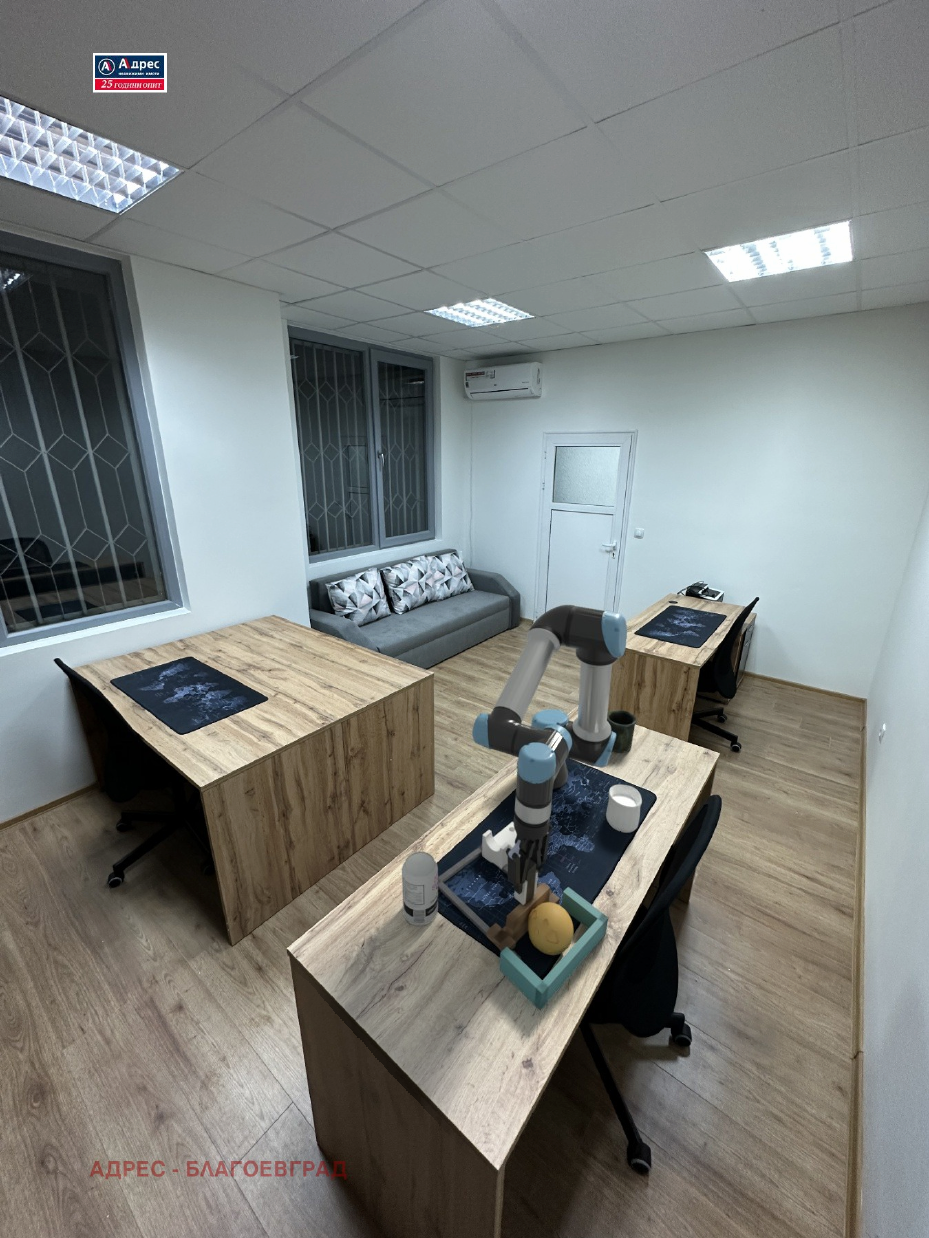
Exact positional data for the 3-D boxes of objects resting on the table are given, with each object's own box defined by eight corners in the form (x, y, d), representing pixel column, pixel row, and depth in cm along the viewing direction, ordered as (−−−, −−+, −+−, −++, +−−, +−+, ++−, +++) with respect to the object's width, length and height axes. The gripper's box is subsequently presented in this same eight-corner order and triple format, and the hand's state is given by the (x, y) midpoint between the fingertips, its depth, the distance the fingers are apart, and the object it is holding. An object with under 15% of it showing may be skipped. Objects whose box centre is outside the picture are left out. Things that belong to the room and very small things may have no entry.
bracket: (501, 871, 128) (503, 849, 126) (481, 856, 133) (482, 834, 130) (531, 844, 137) (533, 823, 135) (511, 831, 142) (513, 810, 139)
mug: (597, 746, 182) (601, 718, 178) (612, 729, 193) (616, 702, 188) (626, 757, 175) (630, 728, 171) (639, 739, 186) (644, 712, 182)
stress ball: (558, 926, 115) (528, 896, 115) (587, 919, 108) (555, 887, 108) (544, 968, 107) (512, 936, 107) (575, 963, 101) (540, 929, 101)
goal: (566, 902, 120) (568, 886, 118) (605, 933, 112) (608, 917, 110) (499, 969, 104) (500, 952, 102) (540, 1010, 97) (542, 993, 95)
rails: (481, 847, 135) (481, 844, 135) (565, 915, 116) (565, 912, 116) (433, 883, 124) (433, 880, 124) (516, 965, 105) (516, 962, 104)
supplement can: (399, 903, 118) (397, 855, 113) (431, 892, 122) (430, 845, 116) (409, 932, 111) (407, 883, 106) (442, 920, 115) (442, 871, 109)
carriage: (539, 890, 122) (544, 835, 116) (558, 906, 118) (565, 849, 112) (486, 939, 110) (489, 880, 104) (506, 958, 106) (510, 898, 100)
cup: (623, 806, 152) (627, 780, 148) (646, 828, 143) (651, 801, 140) (598, 814, 148) (602, 788, 145) (620, 837, 140) (624, 810, 136)
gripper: (542, 787, 111) (534, 865, 119) (493, 821, 101) (488, 905, 109) (569, 804, 106) (559, 885, 114) (520, 842, 96) (514, 928, 104)
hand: (525, 895), depth 111 cm, fingers closed on carriage, 3 cm apart
